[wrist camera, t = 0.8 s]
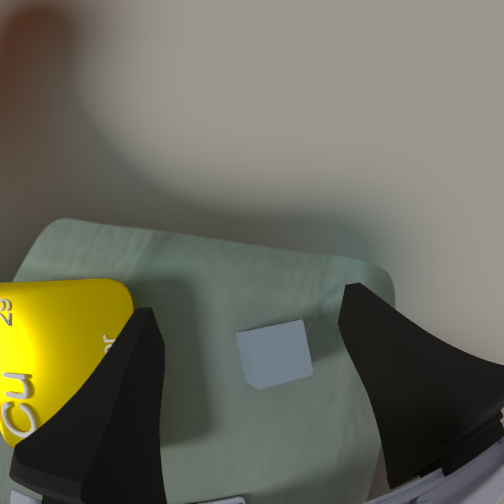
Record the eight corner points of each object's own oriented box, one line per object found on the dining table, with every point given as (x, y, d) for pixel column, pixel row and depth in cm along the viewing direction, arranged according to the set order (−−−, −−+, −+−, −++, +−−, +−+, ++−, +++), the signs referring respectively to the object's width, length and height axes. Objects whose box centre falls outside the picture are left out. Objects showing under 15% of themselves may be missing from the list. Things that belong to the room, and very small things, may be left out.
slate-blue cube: (292, 369, 25) (313, 374, 21) (245, 381, 23) (258, 389, 19) (283, 322, 26) (302, 319, 22) (235, 332, 25) (246, 331, 20)
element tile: (162, 448, 20) (158, 469, 16) (23, 437, 16) (1, 450, 12) (139, 285, 24) (130, 274, 20) (5, 291, 20) (-21, 281, 16)
